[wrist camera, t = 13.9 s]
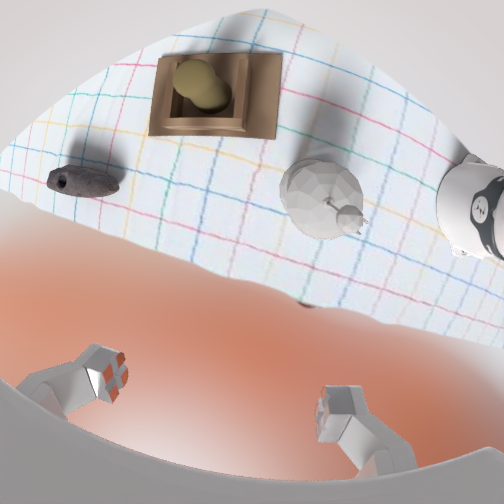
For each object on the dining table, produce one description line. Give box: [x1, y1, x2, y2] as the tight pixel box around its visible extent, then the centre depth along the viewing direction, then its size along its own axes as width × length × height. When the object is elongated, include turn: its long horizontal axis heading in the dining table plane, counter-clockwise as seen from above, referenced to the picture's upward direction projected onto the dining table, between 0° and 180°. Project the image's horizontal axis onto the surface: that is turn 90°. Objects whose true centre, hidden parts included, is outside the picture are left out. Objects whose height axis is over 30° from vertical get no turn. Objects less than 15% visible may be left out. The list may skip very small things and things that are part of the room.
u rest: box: [148, 53, 282, 140], centre depth 35 cm, size 20×14×6 cm
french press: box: [280, 159, 369, 240], centre depth 28 cm, size 10×12×25 cm
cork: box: [173, 59, 232, 114], centre depth 31 cm, size 6×6×11 cm
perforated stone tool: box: [47, 165, 119, 198], centre depth 40 cm, size 15×5×7 cm, turn 75°
